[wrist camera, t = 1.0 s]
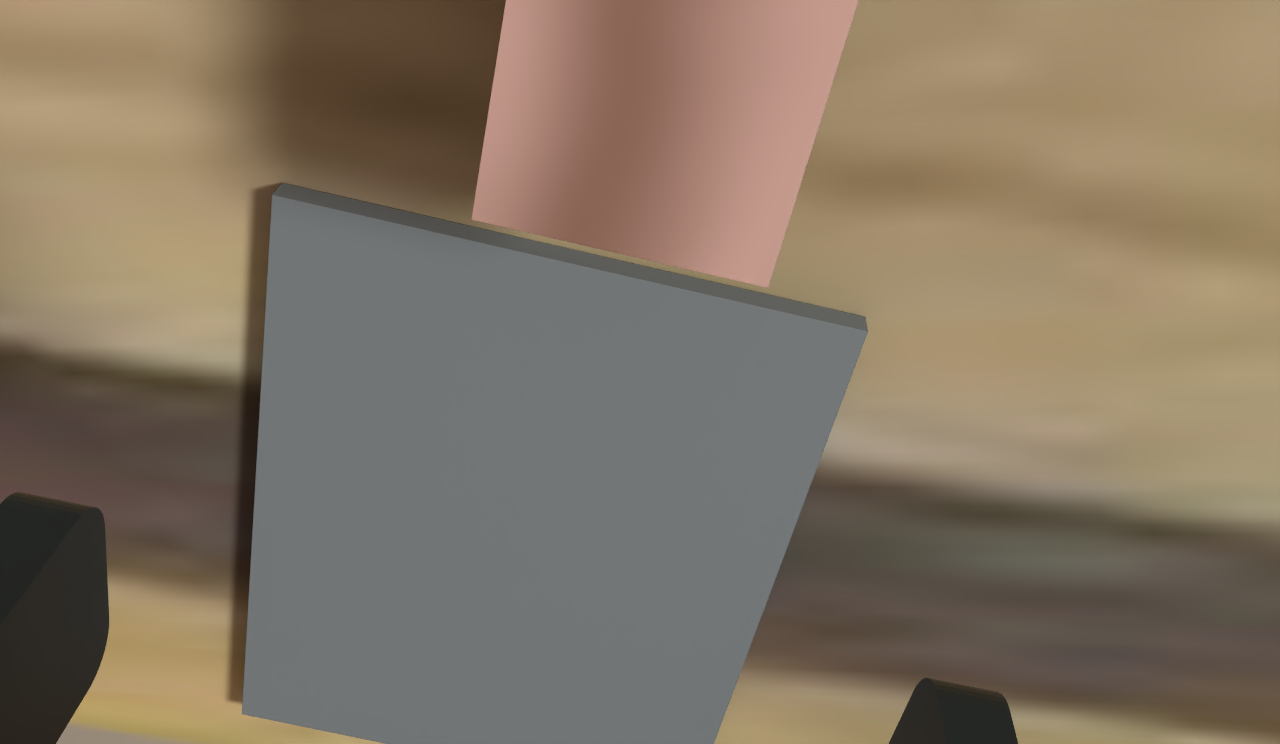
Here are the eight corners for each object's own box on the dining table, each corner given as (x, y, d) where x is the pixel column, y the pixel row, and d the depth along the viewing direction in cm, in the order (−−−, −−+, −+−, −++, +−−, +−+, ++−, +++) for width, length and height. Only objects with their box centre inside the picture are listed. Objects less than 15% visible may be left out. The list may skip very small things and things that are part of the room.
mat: (865, 316, 33) (867, 331, 32) (691, 787, 43) (690, 806, 42) (282, 182, 32) (272, 194, 31) (249, 696, 42) (241, 714, 42)
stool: (833, -98, 27) (862, -12, 21) (762, 147, 30) (767, 287, 24) (573, -162, 27) (521, -96, 20) (529, 92, 30) (471, 219, 24)
